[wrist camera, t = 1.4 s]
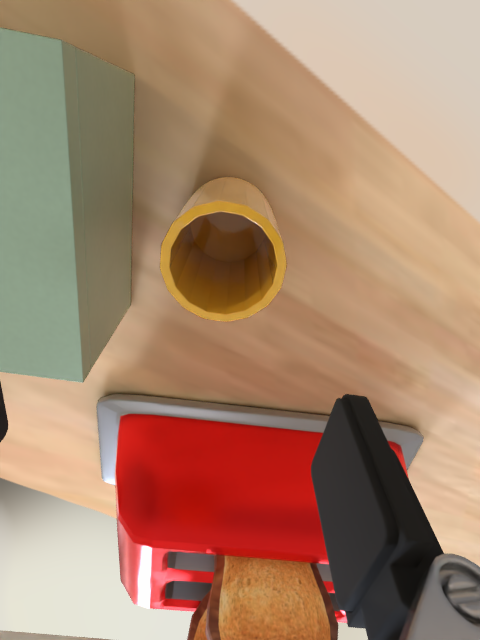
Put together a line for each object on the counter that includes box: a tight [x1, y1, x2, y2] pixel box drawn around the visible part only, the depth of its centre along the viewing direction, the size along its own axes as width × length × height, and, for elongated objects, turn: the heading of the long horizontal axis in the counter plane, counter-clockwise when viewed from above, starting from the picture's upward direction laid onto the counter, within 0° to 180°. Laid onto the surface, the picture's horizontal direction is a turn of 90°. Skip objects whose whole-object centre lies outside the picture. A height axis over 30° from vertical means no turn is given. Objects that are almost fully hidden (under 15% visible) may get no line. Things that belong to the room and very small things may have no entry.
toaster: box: [97, 394, 424, 640], centre depth 29 cm, size 32×13×19 cm, turn 82°
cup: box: [160, 177, 287, 322], centre depth 22 cm, size 6×6×9 cm
